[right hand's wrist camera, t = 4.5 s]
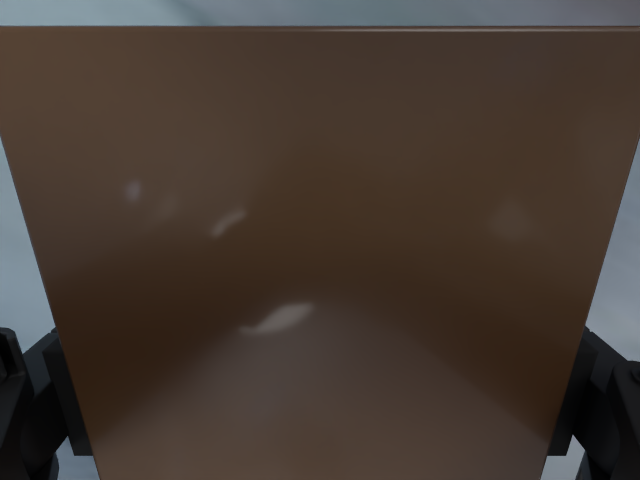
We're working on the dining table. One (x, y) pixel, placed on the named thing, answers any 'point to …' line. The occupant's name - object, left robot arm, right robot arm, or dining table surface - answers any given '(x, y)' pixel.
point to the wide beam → (320, 237)
